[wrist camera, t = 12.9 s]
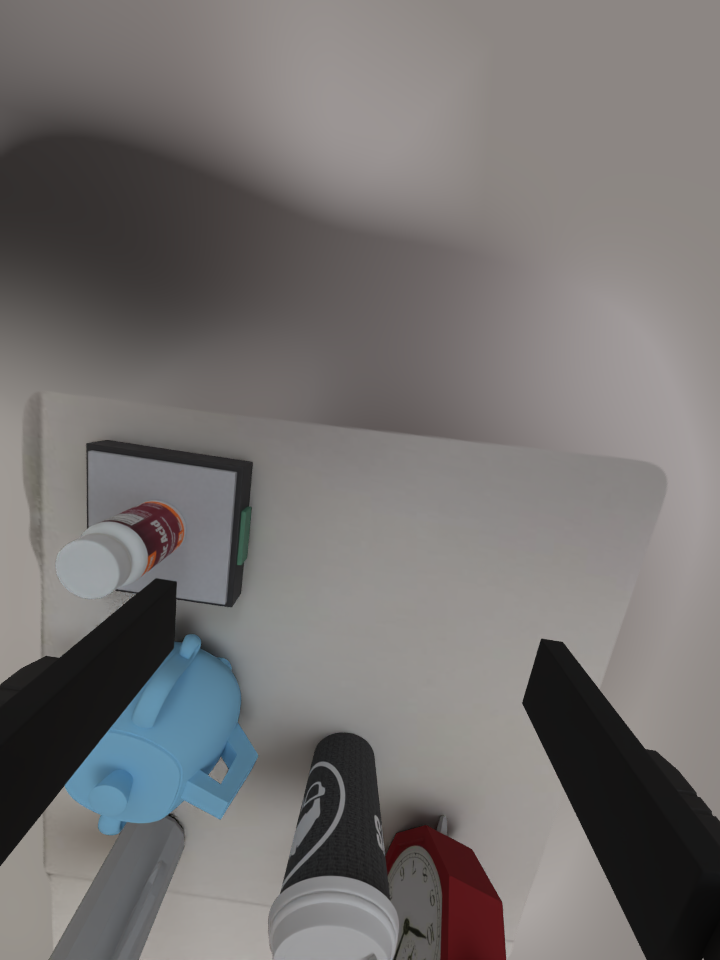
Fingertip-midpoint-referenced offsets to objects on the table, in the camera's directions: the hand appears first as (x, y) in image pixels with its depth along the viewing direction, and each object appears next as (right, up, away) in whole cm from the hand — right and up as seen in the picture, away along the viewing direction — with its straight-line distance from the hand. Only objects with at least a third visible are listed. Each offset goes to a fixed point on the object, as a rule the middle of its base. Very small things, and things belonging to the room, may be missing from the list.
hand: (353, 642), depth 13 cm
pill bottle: (-17, +2, +18) cm, 25 cm away
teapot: (-18, -14, +25) cm, 34 cm away
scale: (-17, +2, +21) cm, 27 cm away
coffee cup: (-1, -24, +27) cm, 36 cm away
